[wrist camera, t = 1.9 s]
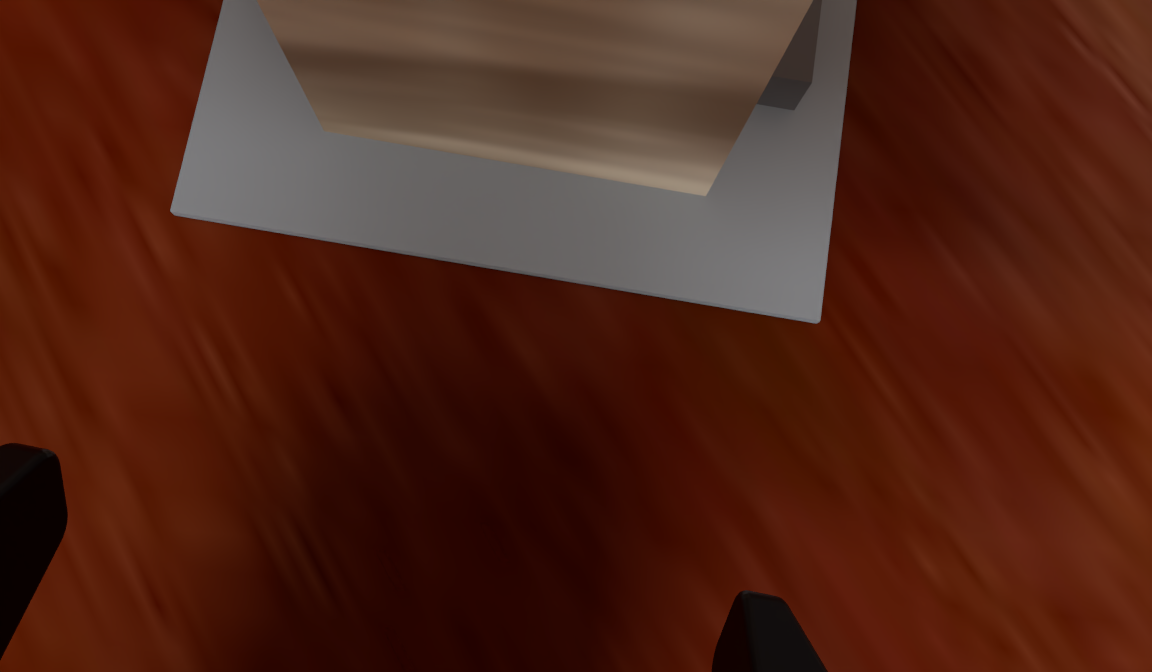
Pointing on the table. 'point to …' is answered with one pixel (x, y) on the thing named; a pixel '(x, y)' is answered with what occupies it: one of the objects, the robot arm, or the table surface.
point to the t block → (543, 78)
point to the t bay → (534, 184)
